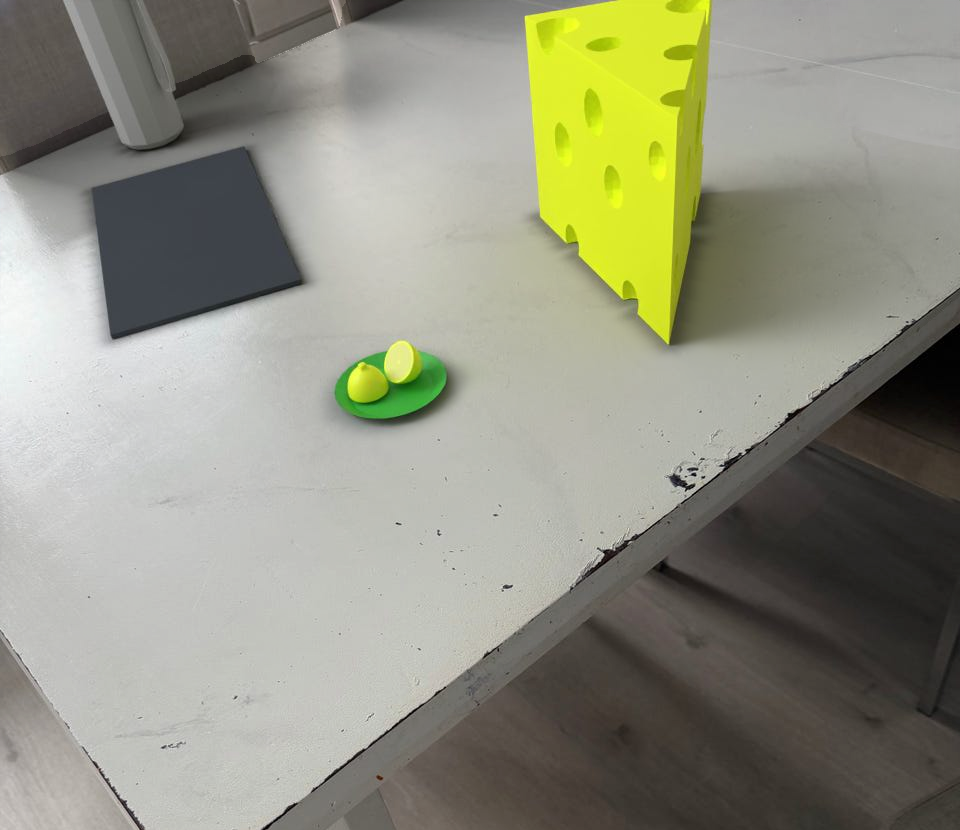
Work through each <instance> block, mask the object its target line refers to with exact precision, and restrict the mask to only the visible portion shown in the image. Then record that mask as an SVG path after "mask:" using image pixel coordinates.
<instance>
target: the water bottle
mask: <svg viewBox="0 0 960 830" xmlns="http://www.w3.org/2000/svg"><path fill="white" fill-rule="evenodd" d="M62 2H63V4H64V6H65V9H66V11H67V13H68V16H69V19H70V21H71V23H72V25H73V28H74V31H75V33H76V35H77V38H78V40H79V42H80V43H79V44H80V45H81V48H82V50H83V52H84V55H85V58H86V60H87V63H88V64H89V67H90V69H91V72H92V74H93V77H94V79H95V81H96V84H97V86H98V89H99V91H100V95H101V96H102V99H103V101H104V103H105V106H106V108H107V111H108V113H109V116H110V118H111V120H112V121H111V122H112V124H113V125H114V129H115V130H116V133H117V135H118V138H119V140H120V143H121V144H123V145H124V146H126V147H128V148H130V149H133V150H137V151H142V150H144V151H145V150H152V149H156V148H159V147H164V146H166V145H168V144H170V143H171V142H173V141H175V140H176V139H177V138H178V137H179V135H180V134H181V133H182V132H183V131H184V126H185V124H184V122H183V119H182V116H181V113H180V111H179V108H178V104H177V102H176V100H175V97H174V93H173V92H174V91H176V90H177V87H176V81H175V77H174V73H173V70H172V67H171V63H170V59H169V58H168V56H167V53H166V51H165V48H164V46H163V44H162V41H161V39H160V37H159V35H158V32H157V30H156V28H155V25H154V23H153V21H152V18H151V16H150V14H149V12H148V9H147V6H146V4H145V2H144V0H62Z"/></svg>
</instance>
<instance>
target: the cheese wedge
mask: <svg viewBox="0 0 960 830" xmlns="http://www.w3.org/2000/svg"><path fill="white" fill-rule="evenodd" d="M712 10H713V0H611V1H606V2H600V3H594V4H587V5H583V6H577V7H571V8H564V9H559V10H554V11H553V10H552V11H546V12H541V13H535V14H529V15H525V16H524V26H525V37H526V50H527V51H526V53H527V63H528V64H527V65H528V77H529V78H528V79H529V88H530V89H529V90H530V102H531V103H530V104H531V115H532V127H533V130H532V131H533V140H534V141H533V142H534V155H535V166H536V167H535V168H536V181H537V182H536V183H537V190H538V191H537V194H538V195H537V196H538V206H539V218H540V219H542V221H543V222H544V223H545V224H546V225H547V226H548V227H549V228H551V230H552V231H554V233H555V234H557V236H559V238H560V239H561V240H563V242H565V244H566V245H568V244H571V243H575V242H577V243H578V256H579V258H580V259H581V260H583V261H584V263H586V264H587V265H588V266H589V267H590V268H591V269H592V270H593V272H594V273H596V274H597V275H598V276H599V277H600V278H601V279H602V281H604V283H605V284H607V285H608V286H609V288H611V289H612V290H613V291H614V292H615V293H616V294H617V295H618V296H619V297H620V299H622V300H623V301H627V300H630V299H635V300H636V299H637V303H638V305H637V306H638V309H637V315H638V316H639V317H640V318H641V320H643V321H644V322H645V323H646V324H647V326H649V327H650V328H651V329H652V330H653V331H654V332H655V333H656V334H657V335H658V336H659V337H660V338H661V339H662V340H663V341H664V342H665V343H666V344H667V345H668V346H669V345H670V341H671V337H672V331H673V328H674V322H675V317H676V312H677V308H678V303H679V298H680V293H681V288H682V284H683V279H684V274H685V269H686V266H687V265H686V264H687V261H688V254H689V250H690V247H691V233H692V222H695V221H696V217H697V212H698V208H699V207H698V206H699V202H700V197H701V192H702V179H703V178H702V177H703V160H704V145H705V144H703V134H704V123H705V122H704V121H705V113H706V107H707V95H708V94H707V93H708V75H709V62H710V61H709V60H710V45H711V29H712V28H711V27H712Z"/></svg>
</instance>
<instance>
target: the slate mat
mask: <svg viewBox="0 0 960 830" xmlns="http://www.w3.org/2000/svg"><path fill="white" fill-rule="evenodd" d="M91 194H92V202H93V210H94V220H95V226H96V235H97V243H98V251H99V257H100V264H101V273H102V281H103V288H104V296H105V303H106V312H107V320H108V328H109V336H110V338H111V339H112V340H115V339H117V338H121V337H124V336H127V335H131V334H134V333H138V332H141V331H144V330H147V329H151V328H155V327H158V326H162V325H166V324H168V323H171V322H175V321H178V320H182V319H185V318H189V317H192V316H195V315H198V314H203V313H206V312H210V311H213V310H216V309H219V308H220V309H221V308H223V307H226V306H229V305H233V304H237V303H240V302H243V301H247V300H251V299H253V298H257V297H261V296H264V295H267V294H271V293H274V292H277V291H281V290H284V289H288V288H290V287H295V286H298V285H301V284H302V283H303V282H302V279H301V276H300V274H299V272H298V270H297V266H296V264H295V262H294V260H293V257H292V255H291V252H290V250H289V248H288V246H287V243H286V240H285V239H284V236H283V234H282V232H281V230H280V228H279V225H278V223H277V220H276V217H275V215H274V213H273V211H272V209H271V206H270V203H269V201H268V198H267V197H266V194H265V192H264V189H263V187H262V185H261V183H260V180H259V178H258V175H257V173H256V170H255V168H254V165H253V163H252V161H251V159H250V157H249V155H248V152H247V150H246V147H245V146H244V145H243V146H239V147H236V148H232V149H228V150H225V151H221V152H217V153H213V154H211V155H206V156H203V157H199V158H196V159H192V160H188V161H185V162H181V163H178V164H173V165H169V166H166V167H163V168H159V169H155V170H152V171H148V172H144V173H141V174H138V175H133V176H129V177H127V178H123V179H119V180H116V181H112V182H107V183H105V184H101V185H98V186H94V187H91Z"/></svg>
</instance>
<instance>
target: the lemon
mask: <svg viewBox="0 0 960 830" xmlns="http://www.w3.org/2000/svg"><path fill="white" fill-rule="evenodd" d="M447 377H448V376H447V370H446V367H445V365H444V364H443V362H442V361H441V360H440V359H438V358H437V357H436V356H435V355H432V354H430V353H428V352H425V351H422V350H418V349H417V348H416V346H414V345H413V344H411V343H410V342H408V341H405V340H398V341H395V342H393V344H392V345H390V347H389V349H388V350H385V351H381V352H378V353H374V354H371V355H369V356H366V357H364V358H362V359H360V360H358V361H356V362H355V363H353V364H351V365H350V366H349V367H348V368H347V369H346V370H345V371H343V372H342V374H341V375H340V376H339V378H338V379H337V382H336V384H335V385H334V399H335V401H336V402H337V404H338V406H340V408H341V409H343V410H344V411H346V412H347V413H349V414H351V415H354V416H357V417H360V418H364V419H365V418H366V419H389V418H396V417H400V416H403V415H407V414H410V413H412V412H415V411H418V410H420V409H422V408H423V407H424V406H427V405H428V404H429V403H431V402H432V401H434V399H436V397H438V396H439V394H440V393H441V392H442V391H443V389H444V388H445V385H446V382H447Z"/></svg>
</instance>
